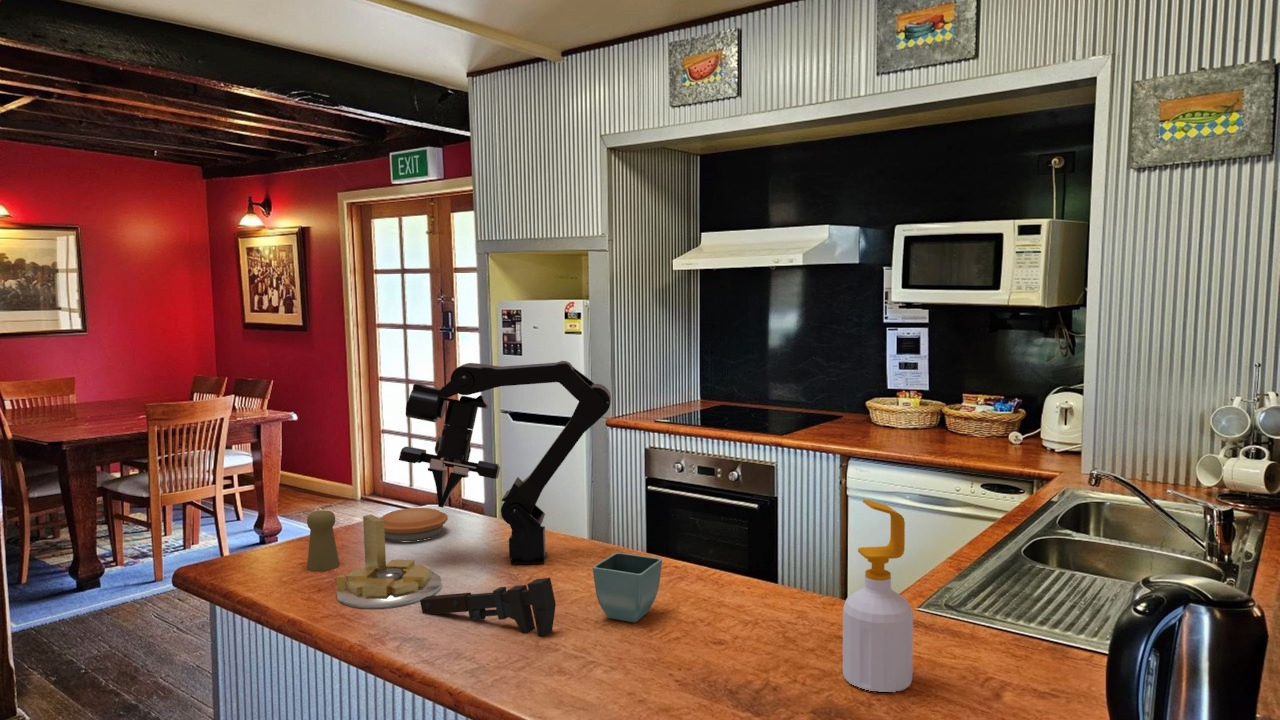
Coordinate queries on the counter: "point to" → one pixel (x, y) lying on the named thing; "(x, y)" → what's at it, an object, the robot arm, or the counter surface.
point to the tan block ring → (383, 566)
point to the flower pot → (627, 585)
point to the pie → (413, 524)
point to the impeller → (391, 600)
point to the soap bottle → (879, 620)
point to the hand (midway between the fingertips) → (440, 507)
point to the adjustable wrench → (502, 605)
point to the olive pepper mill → (322, 542)
